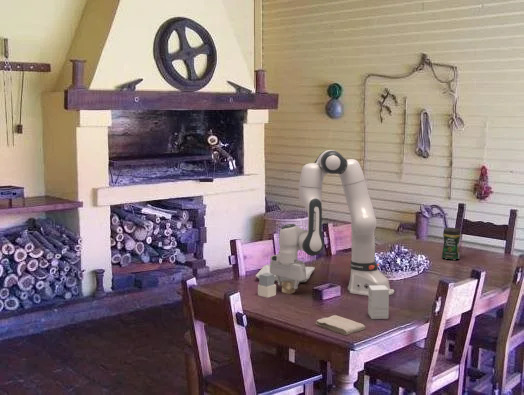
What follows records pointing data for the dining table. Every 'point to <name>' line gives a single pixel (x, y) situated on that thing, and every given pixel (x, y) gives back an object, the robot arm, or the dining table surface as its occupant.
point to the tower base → (267, 291)
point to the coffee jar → (451, 243)
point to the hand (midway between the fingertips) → (287, 286)
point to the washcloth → (340, 325)
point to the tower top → (266, 279)
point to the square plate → (267, 270)
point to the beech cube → (288, 287)
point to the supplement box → (378, 302)
